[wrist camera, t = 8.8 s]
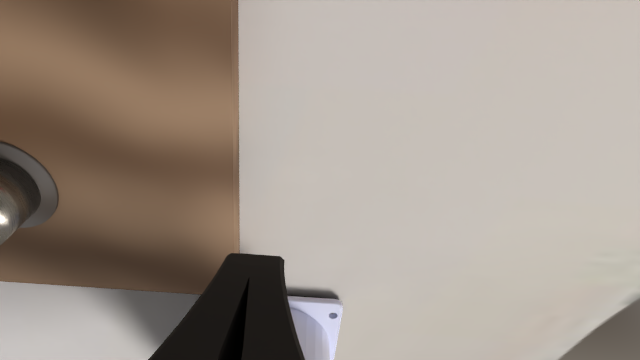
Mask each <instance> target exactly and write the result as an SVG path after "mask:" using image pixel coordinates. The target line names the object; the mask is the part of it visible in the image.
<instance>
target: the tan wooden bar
mask: <svg viewBox="0 0 640 360" xmlns="http://www.w3.org/2000/svg"><path fill="white" fill-rule="evenodd" d="M40 202H41V195H40V191H39V188H38V186H37V184H36V183H35V181H34V180H33V179H32V177H31V176H30V175H29V174H28V173H27V172H26V171H24V170H23V169H22V168H20V167H19V166H17V165H16V164H14V163H12V162H10V161H7V160H5V159H2V158H0V245H1V244H2V243H4V242H5V241H6V240H7V239H8V238H9V237H10V236H11V235H12V234H13V233H14V232H15V231H16V230H17V229H18V228H19V227H20V226H21V225H22V224H23V223H24V222H25V221H26V220H28V219H29V218H30V217H31V216H32V215H33V214H34V213H35V212H36V211H37V209H38V208H39V206H40Z"/></svg>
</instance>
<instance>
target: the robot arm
mask: <svg viewBox="0 0 640 360" xmlns="http://www.w3.org/2000/svg"><path fill="white" fill-rule="evenodd" d="M342 311H343V306H342V302H341V301H339V300H337V299H327V298H312V297H297V296H287V291H286V285H285V277H284V260H283V259H282V258H281V257H280V256H267V255H253V254H239V253H230V254H229V255H227V256H226V258H225V260H224V261H223V263H222V265H221V266H220V268H219V270H218V271H217V273H216V274H215V276H214V277H213V279H212V280H211V282H210V283H209V285H208V286H207V288H206V289H205V290H204V292H203V293H202V295H201V296H200V297H199V299H198V300H197V301H196V303H195V304H194V305H193V307H192V308H191V309H190V311H189V312H188V313H187V314H186V316H185V317H184V318H183V320H182V321H181V322H180V323H179V325H178V326H177V327H176V328H175V329H174V330H173V332H172V333H171V334H170V335H169V336H168V338H167V339H166V340H165V341H164V342H163V343H162V345H161V346H160V347H159V348H158V349H157V351H156V352H155V353H154V354H153V355H152V356H151V357H150V358H149V359H148V360H334V356H335V350H336V345H337V339H338V334H339V328H340V322H341V317H342ZM332 313H334V314H332Z"/></svg>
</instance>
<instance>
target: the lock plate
mask: <svg viewBox="0 0 640 360" xmlns="http://www.w3.org/2000/svg"><path fill="white" fill-rule="evenodd" d="M0 158H2V159H5V160H7V161H10V162H12V163H14V164H16V165H17V166H19V167H20V168H22V169H23V170H24V171H26V172H27V173H28V174H29V175H30V176H31V177H32V179H33V180H34V181H35V183H36V184H37V186H38V188H39V191H40V195H41V202H40V206H39V208H38V209H37V211H36V212H35V213H34V214H33V215H32V216H31V217H30V218H29V219H28V220H26V221H25V222H24V223H23V224H22V225H21V226H20V227H19V228H18V229H17V230H16V231H15V232H14V233H13V234H12V235H11V236H10V237H9V238H8V239H7V240H6V241H5V242H4V243H2V244H1V245H0V281H5V282H20V283H35V284H50V285H66V286H81V287H96V288H111V289H126V290H141V291H156V292H171V293H186V294H201V295H202V293H203V292H204V290H205V289H206V288H207V286H208V285H209V283H210V282H211V280H212V279H213V277H214V276H215V274H216V273H217V271H218V270H219V268H220V266H221V265H222V263H223V261H224V260H225V258H226V256H227V255H229V254H230V253H239V72H238V0H0Z"/></svg>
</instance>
